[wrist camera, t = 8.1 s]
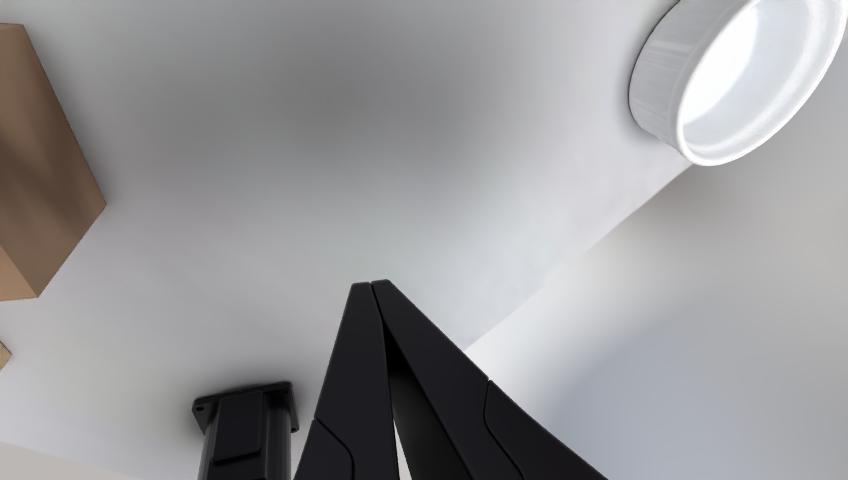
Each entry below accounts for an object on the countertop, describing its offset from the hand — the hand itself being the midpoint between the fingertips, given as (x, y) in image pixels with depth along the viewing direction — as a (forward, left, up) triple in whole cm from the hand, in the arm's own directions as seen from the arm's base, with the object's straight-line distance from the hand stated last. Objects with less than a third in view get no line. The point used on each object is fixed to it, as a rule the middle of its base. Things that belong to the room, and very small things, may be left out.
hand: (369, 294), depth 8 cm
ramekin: (+4, -20, -12) cm, 24 cm away
